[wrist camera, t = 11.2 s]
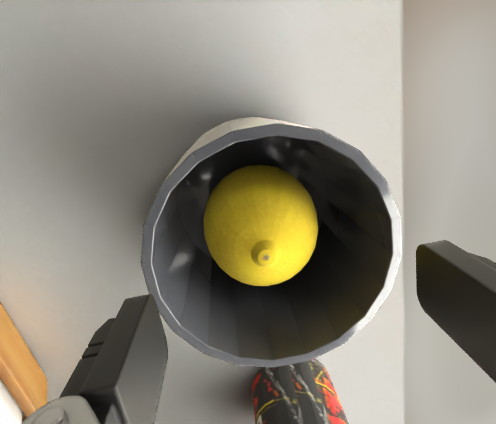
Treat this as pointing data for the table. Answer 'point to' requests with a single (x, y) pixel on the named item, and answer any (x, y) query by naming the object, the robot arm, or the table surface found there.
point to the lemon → (260, 225)
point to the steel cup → (300, 285)
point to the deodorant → (296, 395)
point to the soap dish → (18, 375)
